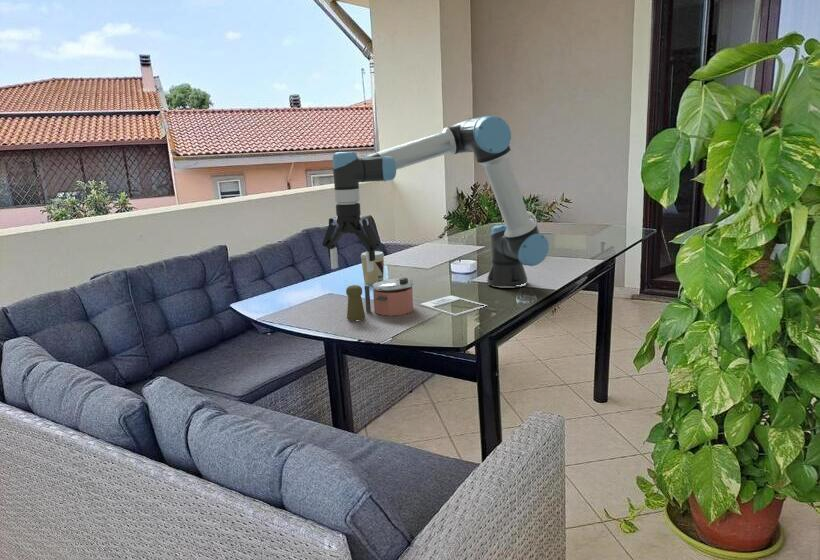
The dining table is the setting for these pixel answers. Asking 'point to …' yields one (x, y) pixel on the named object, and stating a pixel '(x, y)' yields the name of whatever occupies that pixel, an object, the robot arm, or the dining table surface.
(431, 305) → the photo frame
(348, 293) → the cork
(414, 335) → the dining table surface
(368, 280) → the coffee cup
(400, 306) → the pot
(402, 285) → the lid
